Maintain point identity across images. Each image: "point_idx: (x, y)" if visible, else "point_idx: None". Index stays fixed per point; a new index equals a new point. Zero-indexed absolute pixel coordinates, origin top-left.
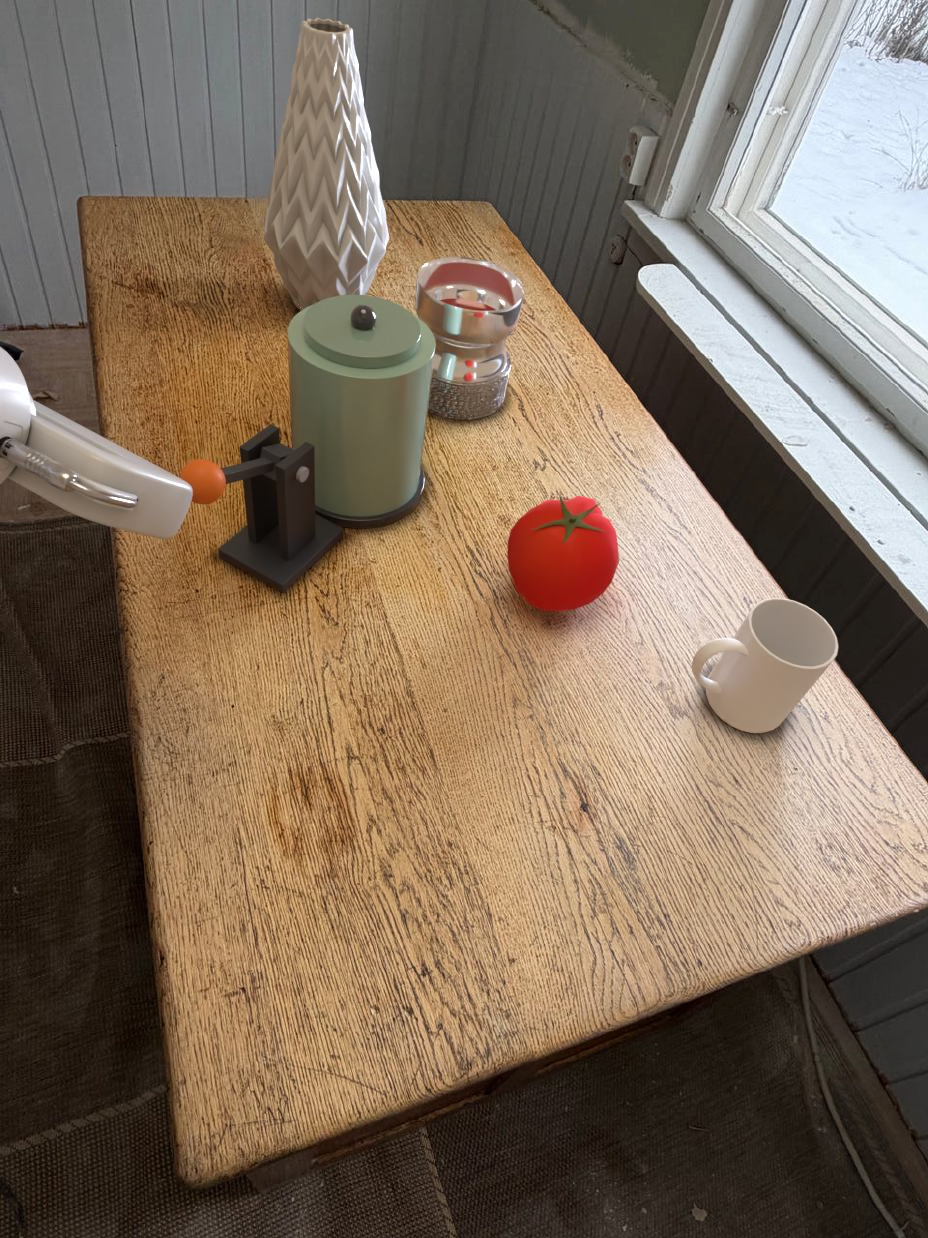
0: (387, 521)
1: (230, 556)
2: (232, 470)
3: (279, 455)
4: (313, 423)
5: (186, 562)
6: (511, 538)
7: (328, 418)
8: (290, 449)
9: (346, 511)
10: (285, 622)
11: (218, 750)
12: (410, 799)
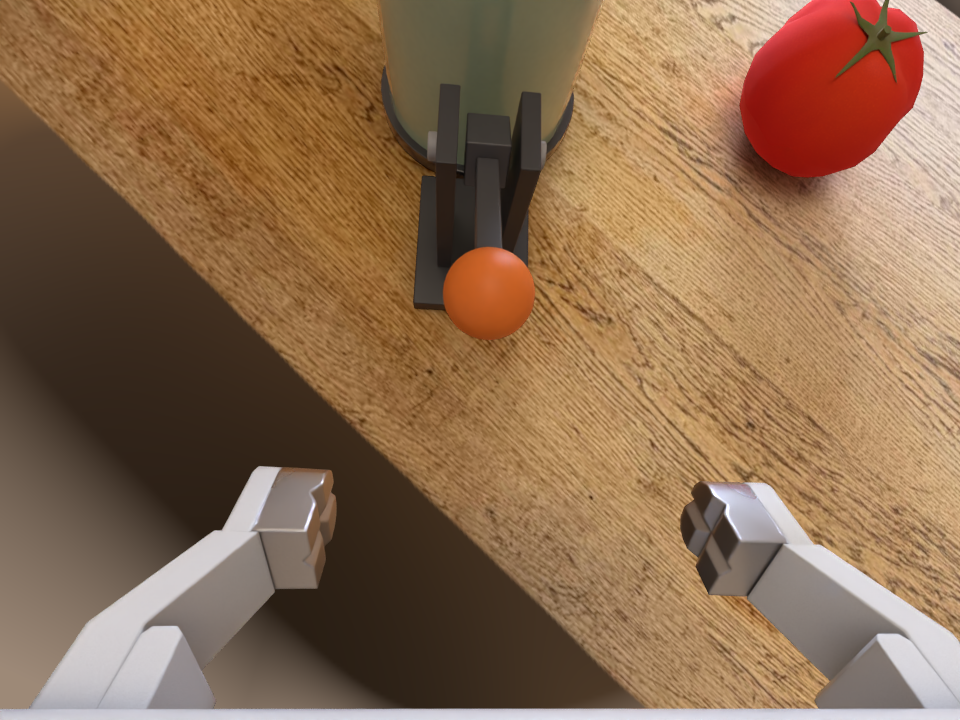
0: (560, 142)
1: (436, 304)
2: (494, 229)
3: (506, 143)
4: (480, 43)
5: (383, 339)
6: (775, 99)
7: (515, 22)
8: (494, 117)
9: None
10: (557, 352)
11: (620, 561)
12: (830, 487)
